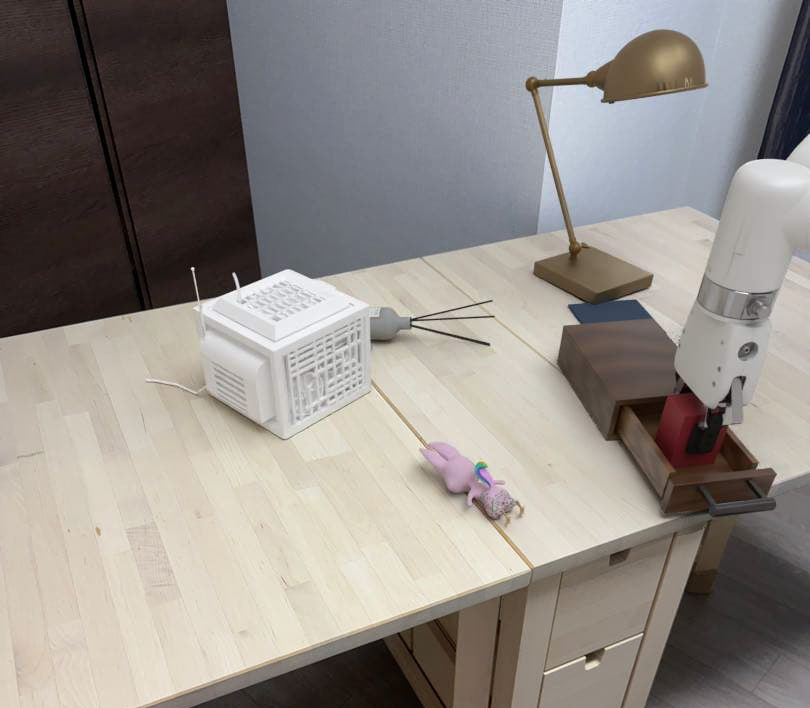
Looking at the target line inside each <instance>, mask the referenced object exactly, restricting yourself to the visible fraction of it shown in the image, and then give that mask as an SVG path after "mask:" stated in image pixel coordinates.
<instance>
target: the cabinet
mask: <svg viewBox="0 0 810 708" xmlns="http://www.w3.org/2000/svg"><path fill="white" fill-rule="evenodd" d="M653 318H654V317H653ZM653 318H652V319H639V320H627V321H614V322H602V323H589V324H581V323H578V324H577V323H576V324H567V325H563V326H562V331H561V338H560V344H559V349H558V355H557V361H556V364H557V366H558V367H559V368H560V370H561V373H562V374H563V375H564V377H565V379H566V380H567V381H568V383H569V384H570V386H571V388H572V389H573V391H574V393H575V394H576V396H577V397H578V399H579V400H580V402H581V403H582V405H583V406H584V408H585V410H586V411H587V413H588V414H589V416H590V417H591V419H592V421H593V422H594V424H595V425H596V427H597V428H598V430H599V432H600V434H601V435H602V437H603V438H604V440H605V441H606V442H607V441H617V440H623V439H622V438H621V436H620V435H619V433H618V432H617V430H616V429H615V425H616V421H617V417H618V413H619V409H620V405H629V404H640V403H650V402H660V401H666V400H667V397H668V395H673V390H674V388H675V386H676V377H675V372H676V369H675V366H674V359H673V356H674V354H675V353H676V351H677V347H678V344H676V343H675V342H674V341H673V339H672V338H671V337H670V336H669V335H668V333H667V332H666V331H665V330H664V329H663V327H662V326H661V325H660V324H659V323H658V322H657V321H656V320H655V318H654V319H653ZM654 320H655V321H656V322H657V323H658V324H659V325H660V326H661V327H662V328H661V327H660V326H659V325H658V324H657V323H656V322H655V321H654ZM662 329H663V330H664V331H665V332H666V333H667V334H666V333H665V332H664V331H663V330H662Z"/></svg>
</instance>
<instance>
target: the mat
mask: <svg viewBox="0 0 810 708" xmlns="http://www.w3.org/2000/svg"><path fill="white" fill-rule="evenodd" d="M567 307H568V309H570V311H571V313H572V314H573V316H574V317H575V318H576V320H577V321H578V322H579V324H589V323H602V322H614V321H627V320H639V319H652V318H653V319H654V321H655V322H656V323H657V324H658V325H659V326H660V327H661V328H662V330H663V331H664V332H665V333H666V334H667V335H668V332H666V330H665V329H664V328H663V327H662V326H661V325H660V324H659V323H658V322H657V321H656V319H655V318H654V317H653V316H652V315H651V314H650V312H648V310H646V308H645V307H644V306H643V304H642V303H641V302H639V301H638V299H636V298H633V299H621V300H608V301H605V302H602V303H599V304H596V305H593V304H591V303H589V302H581V303H568V304H567Z"/></svg>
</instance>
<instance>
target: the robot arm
mask: <svg viewBox="0 0 810 708" xmlns="http://www.w3.org/2000/svg"><path fill="white" fill-rule="evenodd" d="M796 252H804V253H810V133H809V134H808V135H807V136H805V137H804V139H803V140H802V141H801V142H800V143H799V144H798V145H797V146H796V147H795V148H794V149H793V151H792V152H791V153H790V155H788V157H787V158H786V159H785V160H784V159H777V158H763V159H761V158H760V159H755V160H751V161H748V162H746V163H744V164H743V165H741V166H740V167H738V169H737V171H736V172H735V173H734V175H733V176H732V180H731V183H730V185H729V189H728V192H727V195H726V197H725V201H724V204H723V208H722V211H721V215H720V219H719V222H718V225H717V228H716V232H715V235H714V239H713V242H712V245H711V248H710V252H709V256H708V259H707V262H706V265H705V268H704V272H703V275H702V277H701V282H700V286H699V287H698V292H697V296H696V298H695V300H694V302H693V305H692V307H691V309H690V311H689V313H688V315H687V319H686V321H685V324H684V326H683V329H682V332H681V335H680V337H679V341H678V343H677V346H678V347H677V351H676V353H675V354H674V356H673V359H674V366H675V369H676V372H675V377H676V386H675V388H674V390H673V394H684V393H695V394H696V396H697V397H698V398H699V399H700V400H701V401H702V407H701V413H700V419H699V424H694V427H693V430H692V433H691V436H690V439H689V442H688V445H687V448H686V452H687V454H688V455H693V454H703V453H710V452H712V451H713V449H714V446H715V443H716V440H717V438H718V435H719V432H720V430H721V428H722V427H726V426H727V425H729V426H733V425H741V424H743V422H744V408H743V407H747V406H748V405H749V404H750V403H751V401H752V399H753V396H754V394H755V391H756V388H757V385H758V383H759V379H760V376H761V373H762V369H763V366H764V363H765V359H766V355H767V351H768V347H769V342H770V337H771V330H772V321H771V320H770V317H771V315H772V312H773V309H774V308H775V304H776V302H777V298H778V296H779V294H780V292H781V289H782V286H783V283H784V281H785V278H786V276H787V272H788V270H789V267H790V265H791V262H792V259H793V257H794V254H795V253H796ZM715 408H719V412H718V415H714V416H711V417H710V415H711V410H712V409H715Z"/></svg>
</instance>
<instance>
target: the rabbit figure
mask: <svg viewBox="0 0 810 708" xmlns="http://www.w3.org/2000/svg"><path fill="white" fill-rule="evenodd" d="M426 445H427V446H428V447H429V448H431V449H432V450H431V449H427V448H423V447H420V448H418V451H419V453H420V454H422V456H423V457H424V458H425V459H426V460H427V462H428V463H429V464H430V465H431V467H432V468H434V469H435V470H436V471H437V472H439V473H440V474H441V476H442V478H443V480H444V483H445V485H446V487H447V489H448V491H450V492H451V493H454V494H461V493H466V492H468V494H467V497H466V504H467V507H469V508H470V507H472V506H473V499H474V498H475V499H476V500H478V501H481V502H482V503H483V506H484V509H485V512H486V513H487V515H488V516H489V517H490V518H491V519H495V520H498V519H500V518H501V517H503V516H504V517H505V523H504V527H505V528H508V526H507V525H509V524H512V522H511V518H512V516H511V515H510V516H508V515H507V512H510V511H511V510H512V509H514V507H515V506H517V507H518V508H519V513H518V516H517V517H518V518H520V517H522V515H525V507H526V506H522V505H521V503H520V501H519V500H518V499H515V498H513V497H512V496H511V494H510V493H509V492H508V491H507V490H506V488H503V487H501V486H504V485H505V484H506V481H505V480H502V479H498V480H497V479H494V478H493V477H492V475H491V473H490V472H489V470H488V469H489V466H488V464H487V463H486V462H484V461H478V462H477V463H476V464H475V463H474V462H473V461H472V460H471V459H469V458H468V457H466V456H464V455H461V454H460V452H459V451H458V449H457V448H456V447H454V446H453V445H452V444H450V443H448V442H444V441H432V442H428V443H427V444H426ZM479 480H480V481H479ZM497 485H500V486H497Z"/></svg>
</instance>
